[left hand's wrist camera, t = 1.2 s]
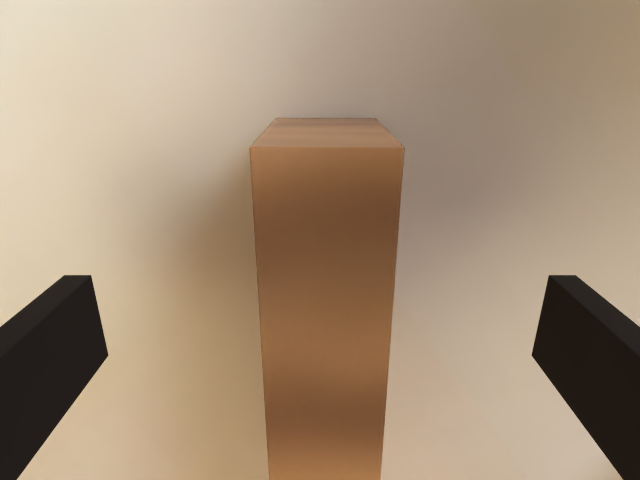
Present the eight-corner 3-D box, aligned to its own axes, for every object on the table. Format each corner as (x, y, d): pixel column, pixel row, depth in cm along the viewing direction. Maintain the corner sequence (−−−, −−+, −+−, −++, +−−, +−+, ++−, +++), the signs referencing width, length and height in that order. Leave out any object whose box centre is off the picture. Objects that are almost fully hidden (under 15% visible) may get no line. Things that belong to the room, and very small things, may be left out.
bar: (275, 118, 22) (249, 146, 14) (375, 118, 22) (404, 147, 14) (287, 451, 30) (275, 585, 22) (359, 451, 30) (372, 586, 22)
